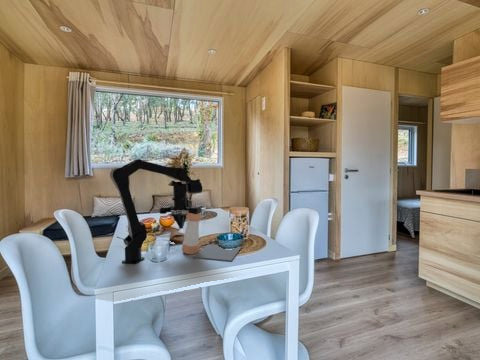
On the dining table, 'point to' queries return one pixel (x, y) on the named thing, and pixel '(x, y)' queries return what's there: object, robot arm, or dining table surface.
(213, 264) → the dining table surface
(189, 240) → the pepper shaker
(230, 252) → the rubber mat
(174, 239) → the sunglasses case
